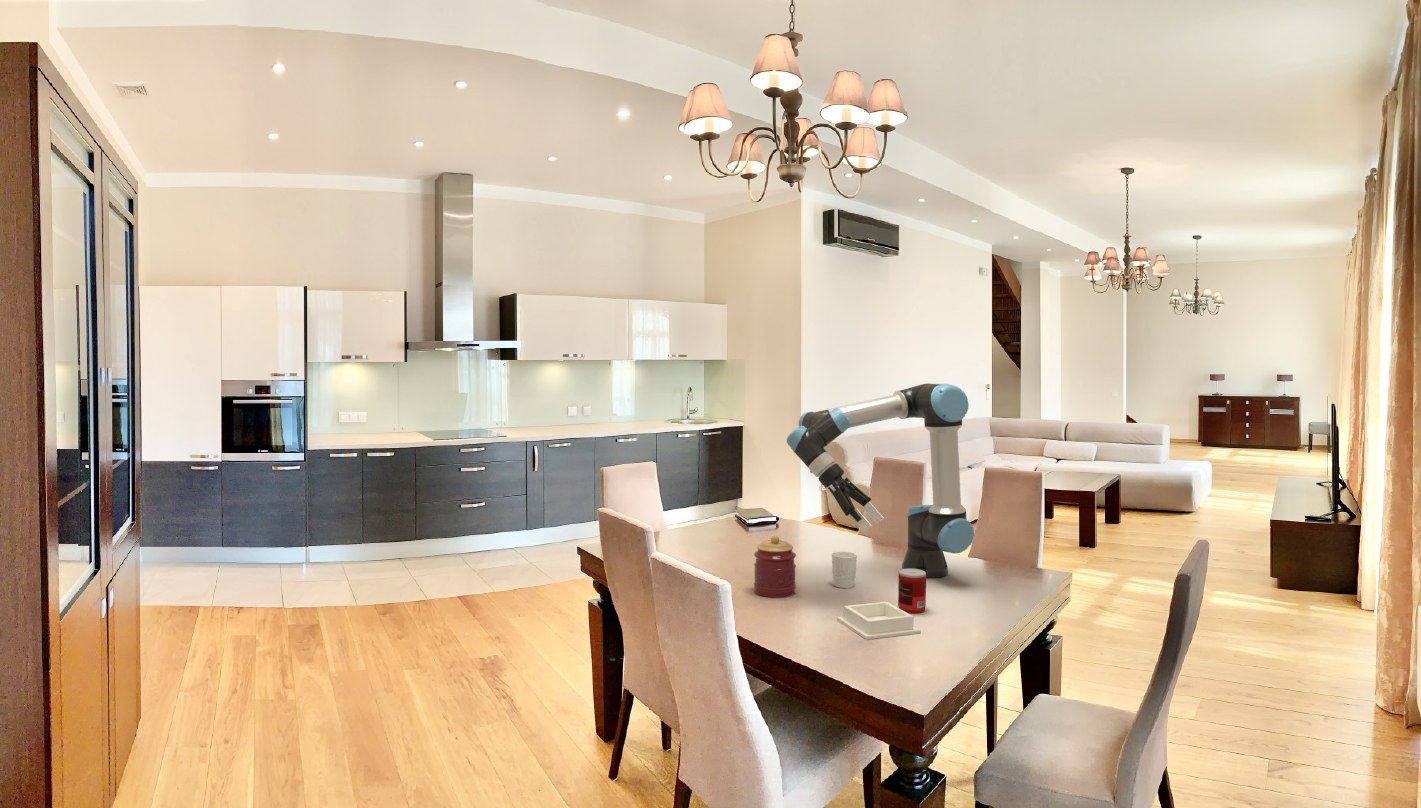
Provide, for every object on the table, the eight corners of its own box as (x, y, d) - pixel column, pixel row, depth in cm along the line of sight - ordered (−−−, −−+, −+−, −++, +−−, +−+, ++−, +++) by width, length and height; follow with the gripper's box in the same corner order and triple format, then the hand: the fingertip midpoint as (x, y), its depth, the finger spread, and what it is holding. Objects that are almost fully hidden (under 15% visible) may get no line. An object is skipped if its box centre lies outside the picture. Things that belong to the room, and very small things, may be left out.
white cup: (856, 589, 239) (856, 558, 239) (830, 588, 241) (831, 556, 241) (856, 582, 247) (856, 552, 247) (832, 581, 249) (832, 550, 248)
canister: (802, 596, 232) (802, 538, 231) (762, 599, 229) (762, 541, 228) (786, 584, 245) (786, 530, 244) (748, 587, 241) (748, 532, 240)
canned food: (926, 606, 222) (927, 569, 222) (924, 615, 215) (925, 576, 214) (899, 604, 225) (900, 567, 224) (896, 612, 217) (897, 574, 217)
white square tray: (888, 614, 215) (888, 599, 215) (920, 633, 200) (920, 617, 200) (837, 620, 210) (837, 604, 210) (866, 639, 195) (866, 623, 195)
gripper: (831, 473, 242) (876, 525, 236) (804, 483, 220) (853, 541, 213) (847, 458, 239) (894, 510, 233) (822, 466, 217) (872, 524, 211)
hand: (874, 525), depth 223 cm, fingers open, 13 cm apart
